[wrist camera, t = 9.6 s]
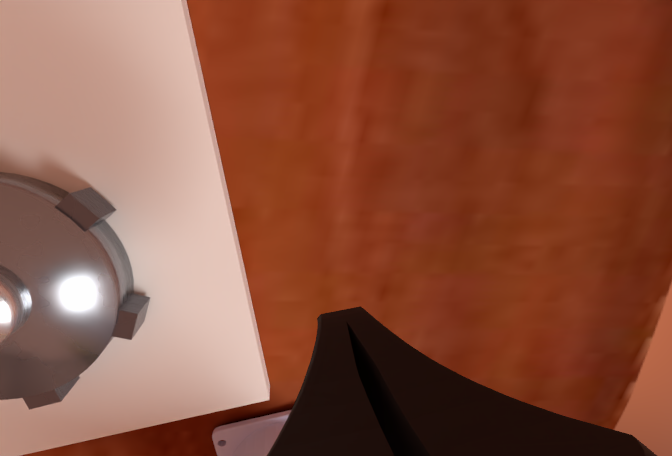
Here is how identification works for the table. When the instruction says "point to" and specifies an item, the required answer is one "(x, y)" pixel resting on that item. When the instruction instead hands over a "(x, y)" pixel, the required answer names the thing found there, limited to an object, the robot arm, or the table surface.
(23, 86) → the base plate
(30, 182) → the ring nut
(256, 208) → the table surface
